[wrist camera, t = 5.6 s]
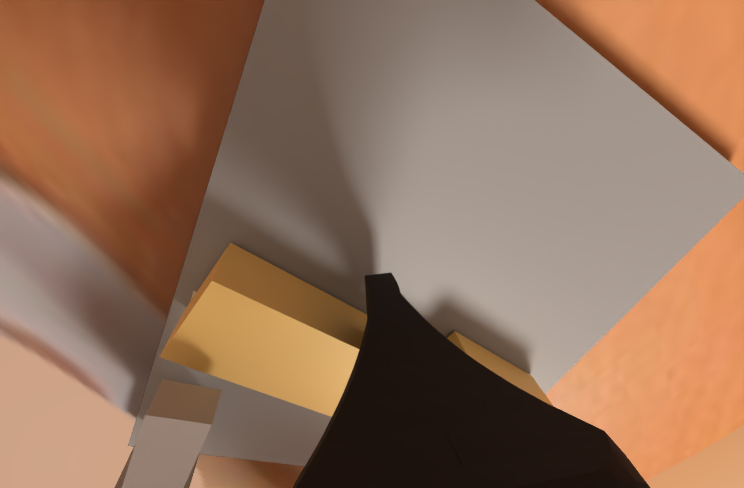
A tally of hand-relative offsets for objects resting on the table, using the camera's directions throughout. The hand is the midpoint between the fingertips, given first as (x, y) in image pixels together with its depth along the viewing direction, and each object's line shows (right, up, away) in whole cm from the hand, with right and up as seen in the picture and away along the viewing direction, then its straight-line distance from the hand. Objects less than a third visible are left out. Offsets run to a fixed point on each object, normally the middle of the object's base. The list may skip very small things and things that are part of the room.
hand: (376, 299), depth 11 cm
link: (0, -3, +3) cm, 4 cm away
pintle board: (+2, -1, +3) cm, 4 cm away
